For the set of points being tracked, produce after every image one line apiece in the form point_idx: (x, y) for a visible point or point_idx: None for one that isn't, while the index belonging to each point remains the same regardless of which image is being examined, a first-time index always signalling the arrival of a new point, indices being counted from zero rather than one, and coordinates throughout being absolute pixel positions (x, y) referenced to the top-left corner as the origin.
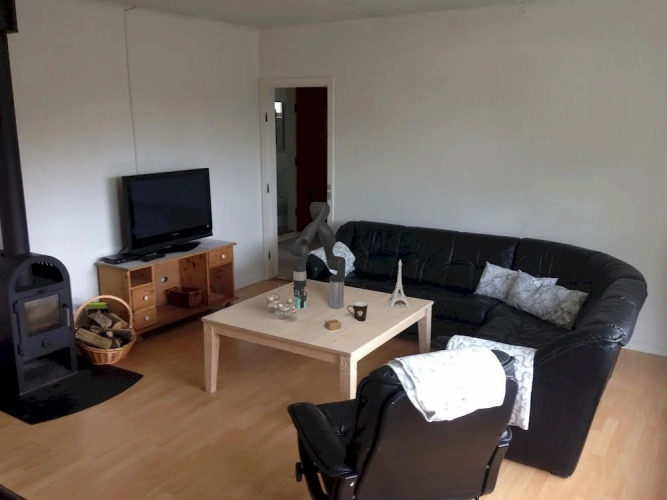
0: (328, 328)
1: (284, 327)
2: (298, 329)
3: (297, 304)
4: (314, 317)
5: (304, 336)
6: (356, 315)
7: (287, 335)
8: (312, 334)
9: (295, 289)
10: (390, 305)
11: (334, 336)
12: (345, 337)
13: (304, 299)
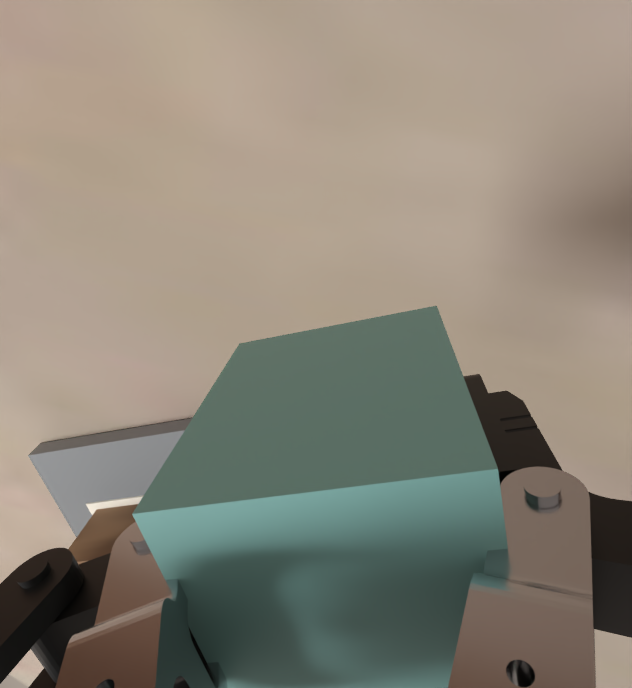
0: (120, 517)
1: (351, 61)
2: (244, 241)
3: (231, 394)
4: (590, 486)
5: (20, 261)
6: None
7: (39, 54)
8: (82, 351)
9: None
10: None
11: (39, 504)
12: (22, 562)
13: (55, 677)
